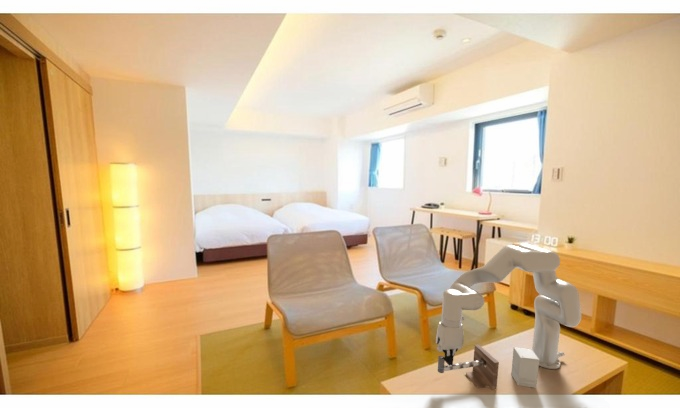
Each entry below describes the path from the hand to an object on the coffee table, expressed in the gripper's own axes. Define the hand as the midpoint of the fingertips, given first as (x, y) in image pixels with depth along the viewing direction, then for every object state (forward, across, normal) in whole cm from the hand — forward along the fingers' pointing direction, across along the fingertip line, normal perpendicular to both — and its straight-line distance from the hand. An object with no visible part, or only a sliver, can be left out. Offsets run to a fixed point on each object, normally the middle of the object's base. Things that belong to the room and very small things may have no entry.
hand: (448, 362), depth 119 cm
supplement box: (+10, -34, +4) cm, 35 cm away
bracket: (+10, -15, 0) cm, 18 cm away
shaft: (+3, -6, 0) cm, 7 cm away
